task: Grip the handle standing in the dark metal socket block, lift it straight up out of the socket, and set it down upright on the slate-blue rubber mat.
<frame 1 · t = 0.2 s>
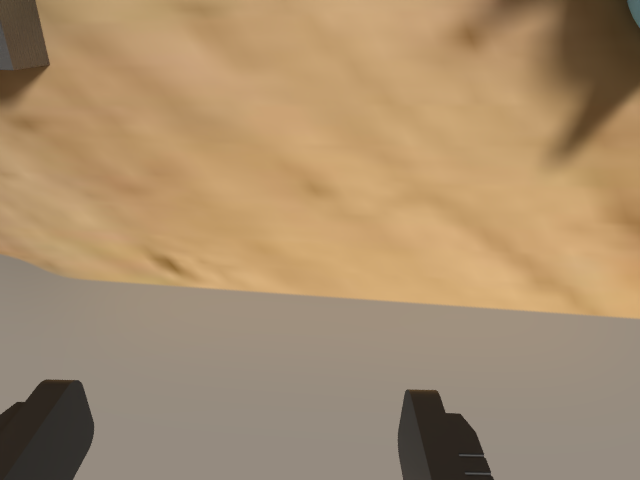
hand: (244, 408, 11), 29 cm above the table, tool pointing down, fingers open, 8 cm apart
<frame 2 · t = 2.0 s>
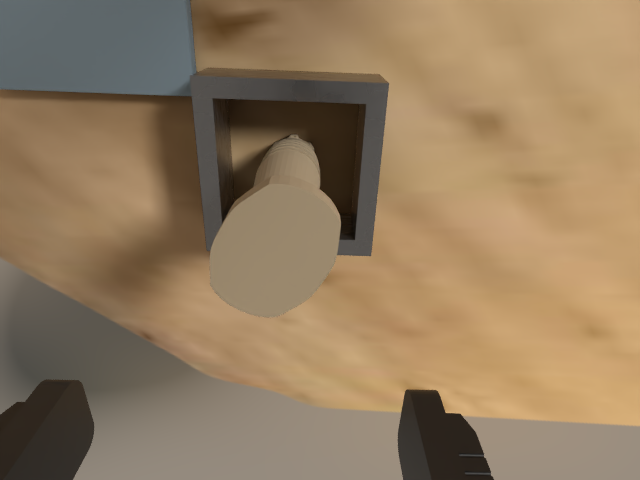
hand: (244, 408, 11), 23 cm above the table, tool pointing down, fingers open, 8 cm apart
socket block: (293, 154, 31), on the table
handle: (293, 154, 31), resting in socket block
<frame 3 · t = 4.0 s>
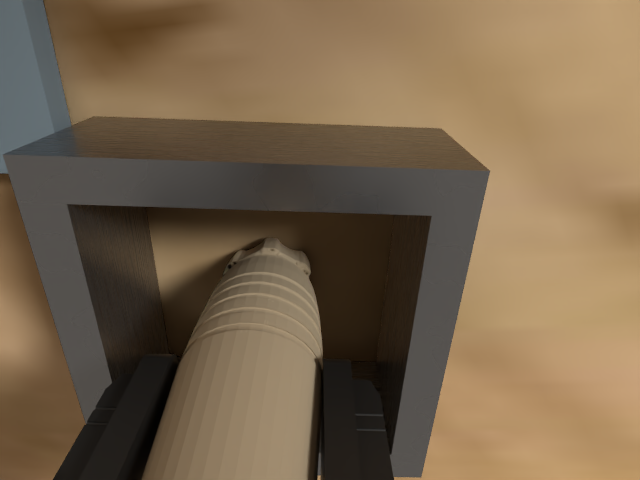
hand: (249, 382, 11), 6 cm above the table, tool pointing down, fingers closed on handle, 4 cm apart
socket block: (271, 271, 17), on the table
handle: (272, 268, 17), resting in socket block, touching gripper
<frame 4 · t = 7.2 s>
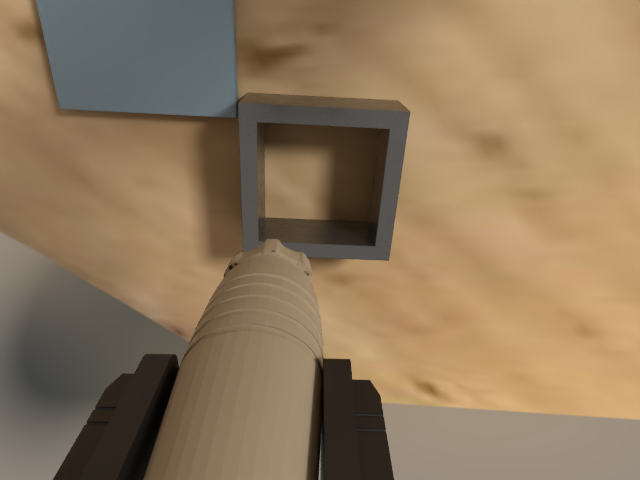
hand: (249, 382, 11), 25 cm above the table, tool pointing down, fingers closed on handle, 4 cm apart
socket block: (319, 169, 35), on the table
rubber mat: (140, 6, 29), on the table
handle: (273, 269, 17), point 19 cm above the table, touching gripper
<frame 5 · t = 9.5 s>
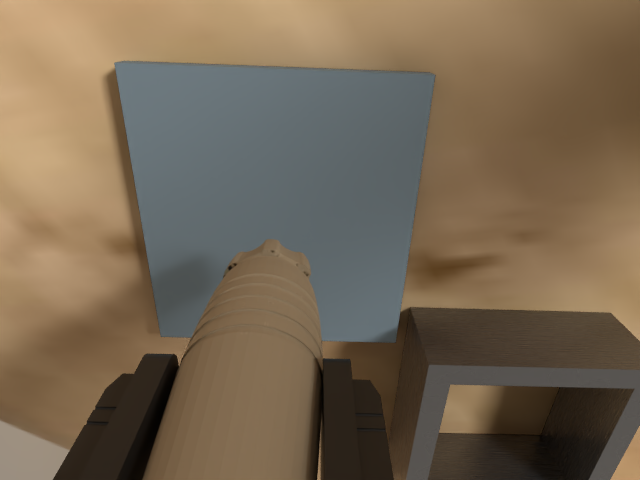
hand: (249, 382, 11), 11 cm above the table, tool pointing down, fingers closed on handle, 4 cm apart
socket block: (489, 384, 27), on the table
rubber mat: (279, 216, 21), on the table
handle: (272, 269, 17), point 5 cm above the table, touching gripper
when the fingers open (8 cm above the table, at t = 10.5 s): handle stays where it is, resting on rubber mat.
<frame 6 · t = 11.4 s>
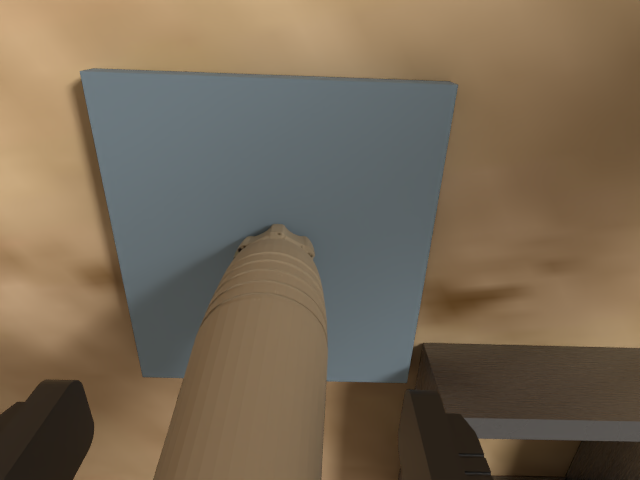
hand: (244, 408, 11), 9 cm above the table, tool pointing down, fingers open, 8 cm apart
socket block: (509, 424, 24), on the table
rubber mat: (275, 244, 19), on the table
handle: (278, 253, 18), point 1 cm above the table, touching rubber mat
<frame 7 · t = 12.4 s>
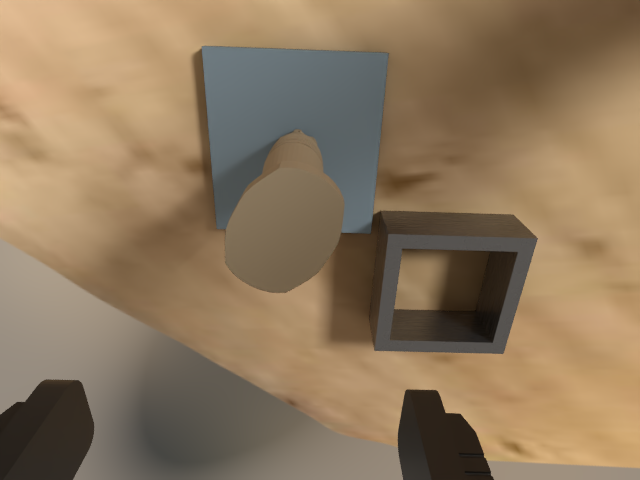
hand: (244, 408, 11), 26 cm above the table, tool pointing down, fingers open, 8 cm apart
socket block: (436, 270, 39), on the table
rubber mat: (295, 146, 34), on the table
handle: (297, 148, 33), point 1 cm above the table, touching rubber mat
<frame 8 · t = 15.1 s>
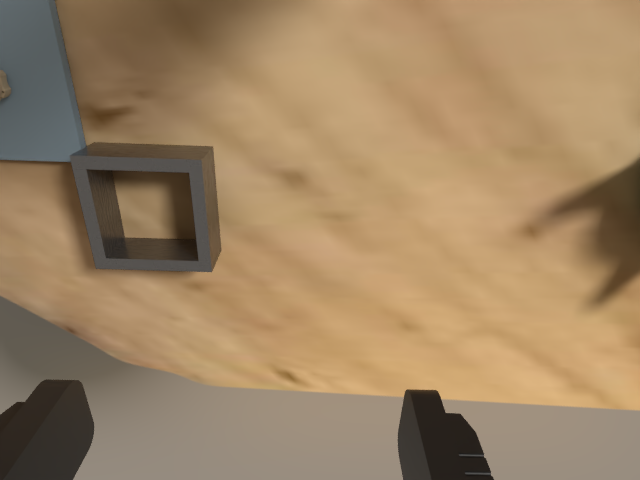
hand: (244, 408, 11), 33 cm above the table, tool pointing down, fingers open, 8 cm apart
socket block: (161, 199, 44), on the table
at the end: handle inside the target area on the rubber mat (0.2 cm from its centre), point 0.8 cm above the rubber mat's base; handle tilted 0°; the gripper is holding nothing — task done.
